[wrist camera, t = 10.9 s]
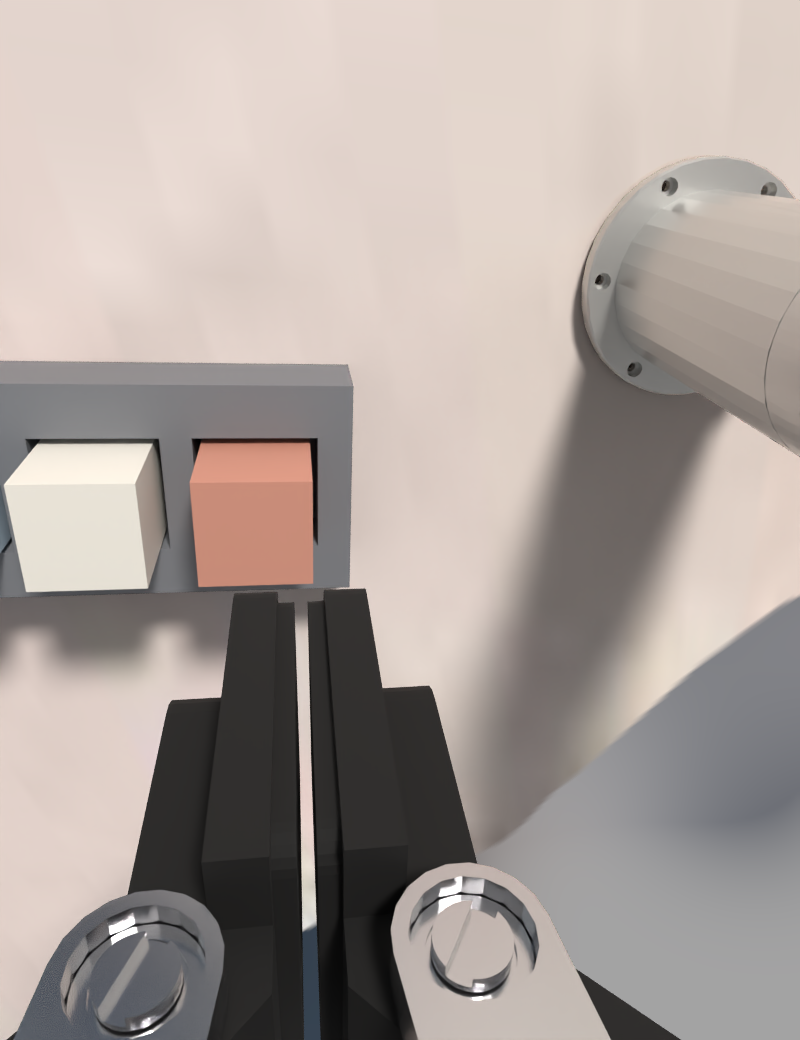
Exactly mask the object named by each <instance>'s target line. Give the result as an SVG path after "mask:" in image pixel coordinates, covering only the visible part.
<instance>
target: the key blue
mask: <svg viewBox="0 0 800 1040" xmlns="http://www.w3.org/2000/svg"><path fill="white" fill-rule="evenodd" d="M10 538H11V532H10V528H9V523H8V518H7V514H6V509H5V504H4V500H3V495H2V490H1V485H0V553H1V551H2V550H3V549H4V547H5V546H6V544H7V543H8V541H9V540H10Z"/></svg>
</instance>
